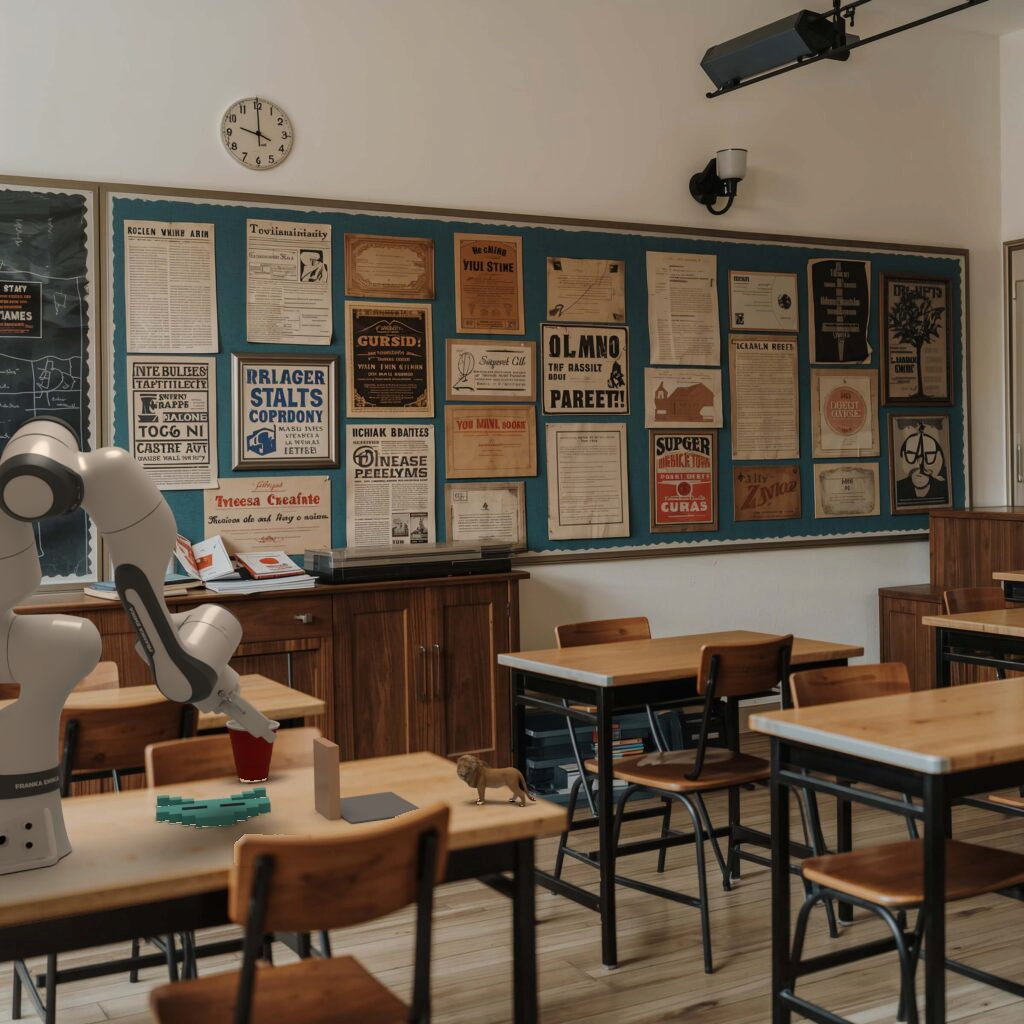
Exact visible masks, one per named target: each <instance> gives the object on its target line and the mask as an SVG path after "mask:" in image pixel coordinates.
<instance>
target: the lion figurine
mask: <svg viewBox="0 0 1024 1024" xmlns="http://www.w3.org/2000/svg"><path fill="white" fill-rule="evenodd" d="M456 759H457V766H456V774H457V776H458V778H459V779H460V780H462V781H463V782H465V783H466V784H467V786H468V787H469V788H473V789H477V794H478V798H479V799H480V800H479V801H477V800H476V802H484V803H485V800H486V799H485V796H486V788H488V789H500V788H503V787H504V786H507V787H508V788H509V790H510V791H511V792H512V793H513V796H512V797H510V798H509V799H508V801H509V800H512V801H515V800H516V801H517V799H518V798H519V799H520V801H519V802H518V803H517V804H519V805H525V806H526V803H527V801H526V797H527V798H528V799H529V801H531V802H536V801H537V799H536V800H534V799H535V798H534V797H533V796H531V795H530V793H529V791H528V788H527V784H526V783H527V782H526V781H525V778H524V776H523V773H522V772H520V770H518V769H517V768H514V767H512V766H511V767H505V768H504V767H503V768H493V766H490V765H489V764H488V763H487V762H486V761H484V760H481V759H479V758H478V757H477V756H474V755H470V754H463V755H462V756H460V757H458V758H456ZM520 782H521V784H522V787H523V790H524V792H523V790H521V788H520V786H519V785H520ZM525 795H526V797H525ZM532 798H533V799H532ZM516 801H515V802H516ZM519 805H518V806H519Z"/></svg>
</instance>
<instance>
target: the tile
mask: <svg viewBox="0 0 1024 1024" xmlns="http://www.w3.org/2000/svg"><path fill="white" fill-rule="evenodd" d="M312 741H313V743H312V744H313V751H312V752H313V779H314V780H313V785H314V788H313V789H314V810H315V811H316V812H317V813H320V815H322V816H323V817H325V818H326V819H327V820H329V821H336V820H337V821H338V820H341V819H342V817H341V811H340V798H341V780H340V778H341V777H340V775H341V773H340V772H341V771H340V746H339V745H338V744H336V743H335V742H333V741H330V740H328V739H327V738H325V737H317V738H313V740H312Z"/></svg>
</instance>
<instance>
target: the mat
mask: <svg viewBox="0 0 1024 1024" xmlns="http://www.w3.org/2000/svg"><path fill="white" fill-rule="evenodd" d="M419 808H420V807H418V806H417V805H415V804H413V803H411V802H409V801H408V800H406V799H405V798H403V797H402V796H400V795H398V794H396V793H394V792H393V791H386V792H377V793H371V794H370V793H369V794H363V795H353V796H346V797H340V811H341V819H343V820H345V821H346V822H348V823H349V824H350V825H355V824H361V823H368V822H375V821H383V820H388V819H387V818H391V817H395V816H398V815H401V814H403V813H406V812H409V811H412V810H416V809H419ZM391 819H392V818H391Z"/></svg>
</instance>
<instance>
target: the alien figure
mask: <svg viewBox="0 0 1024 1024" xmlns="http://www.w3.org/2000/svg"><path fill="white" fill-rule="evenodd" d="M260 797H266V798H260ZM255 798H256V799H255ZM168 805H169V806H168ZM157 806H161V807H157ZM155 810H156V811H155V812H156V813H155V814H156V815H155V817H156V818H155V819H156V821H165V820H169V822H168V823H176V822H182V823H181V824H182V825H190V824H196V825H195V828H196V827H202V826H218V827H220V826H219V825H229V826H233V825H232V824H235V825H236V822H235V821H237V820H247V821H248V818H247V817H248V816H251V817H250V818H255V817H254V816H259V817H260V814H269V813H271V801H270V798H269V797H267V788H266V787H264V786H263V787H253V788H252V790H244V791H242V792H241V794H230V797H223V798H213V799H203V800H199V799H198V800H195V798H183V797H182V796H172V797H171V796H170V794H166V795H156V809H155ZM268 812H269V813H268ZM259 813H260V814H259ZM182 825H181V826H182Z"/></svg>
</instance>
